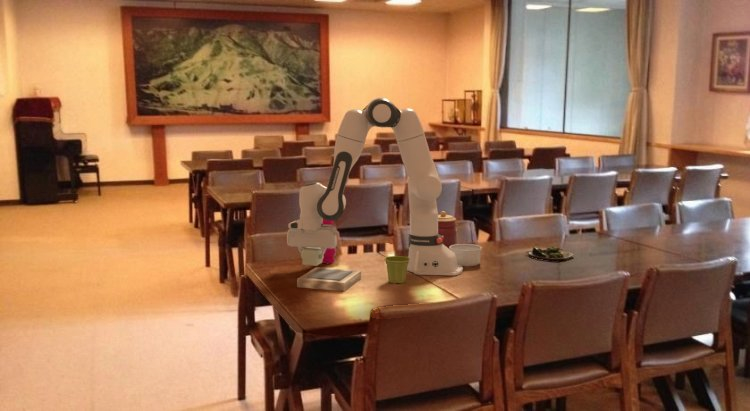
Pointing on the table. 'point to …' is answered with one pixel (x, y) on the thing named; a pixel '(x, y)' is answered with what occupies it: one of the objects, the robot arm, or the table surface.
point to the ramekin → (467, 254)
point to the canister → (447, 229)
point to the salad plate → (549, 254)
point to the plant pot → (397, 268)
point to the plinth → (329, 279)
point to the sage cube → (311, 256)
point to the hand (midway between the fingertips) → (312, 258)
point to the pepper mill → (329, 251)
